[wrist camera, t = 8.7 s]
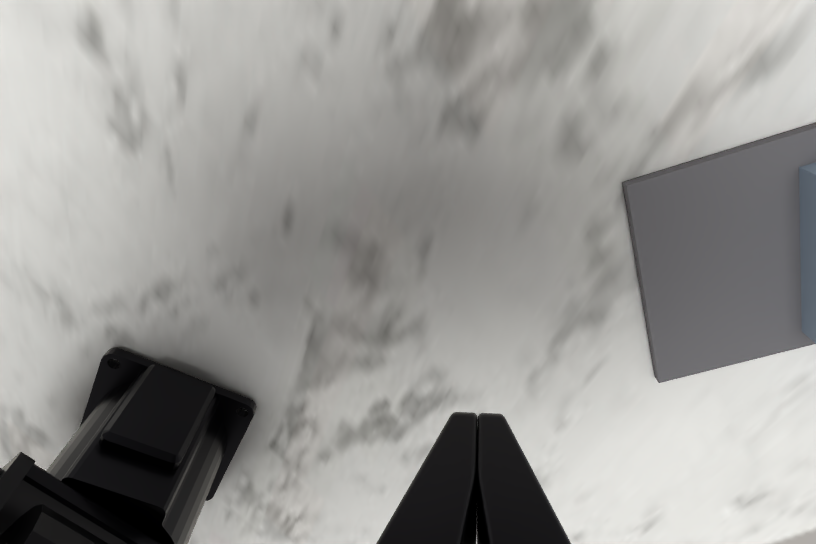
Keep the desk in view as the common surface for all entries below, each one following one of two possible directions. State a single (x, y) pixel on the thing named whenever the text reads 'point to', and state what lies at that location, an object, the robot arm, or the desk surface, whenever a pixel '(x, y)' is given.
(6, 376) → the desk surface
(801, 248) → the card box
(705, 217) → the mat
